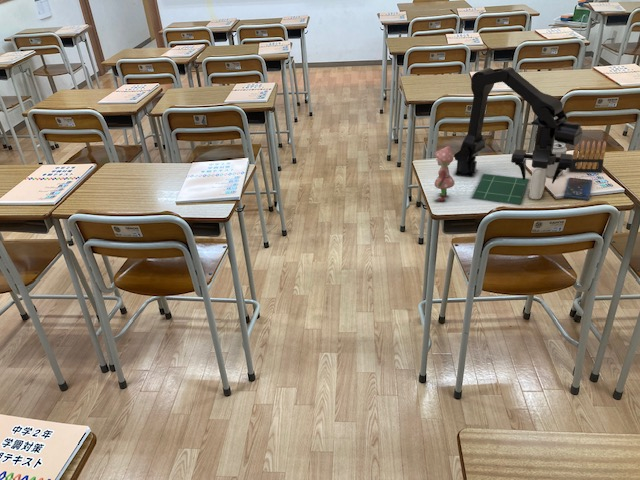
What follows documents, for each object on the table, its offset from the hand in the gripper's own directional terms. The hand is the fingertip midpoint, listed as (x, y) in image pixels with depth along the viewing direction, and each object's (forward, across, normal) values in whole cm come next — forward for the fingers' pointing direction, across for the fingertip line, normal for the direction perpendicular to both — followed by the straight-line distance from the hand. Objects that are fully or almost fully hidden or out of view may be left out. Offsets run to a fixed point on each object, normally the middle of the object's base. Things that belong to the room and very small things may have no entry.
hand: (538, 181), depth 168 cm
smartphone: (+5, +13, +6) cm, 15 cm away
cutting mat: (+5, -12, 0) cm, 13 cm away
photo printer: (+5, 0, 0) cm, 5 cm away
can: (+5, +3, +17) cm, 18 cm away
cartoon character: (+5, -29, -13) cm, 33 cm away
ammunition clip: (+5, +14, +23) cm, 27 cm away
